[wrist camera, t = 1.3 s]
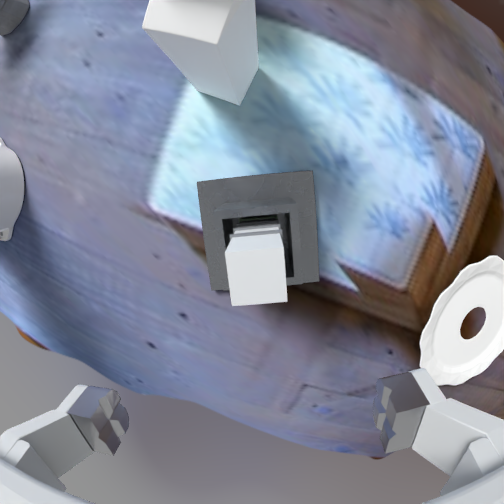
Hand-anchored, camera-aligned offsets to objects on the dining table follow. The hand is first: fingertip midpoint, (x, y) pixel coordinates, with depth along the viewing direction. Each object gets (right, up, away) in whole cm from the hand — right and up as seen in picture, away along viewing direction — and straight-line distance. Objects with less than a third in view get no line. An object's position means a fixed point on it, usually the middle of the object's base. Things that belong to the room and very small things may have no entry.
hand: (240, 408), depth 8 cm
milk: (-3, +26, +25) cm, 36 cm away
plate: (+39, -8, +32) cm, 51 cm away
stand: (+1, +7, +30) cm, 30 cm away
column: (+1, +7, +28) cm, 29 cm away
